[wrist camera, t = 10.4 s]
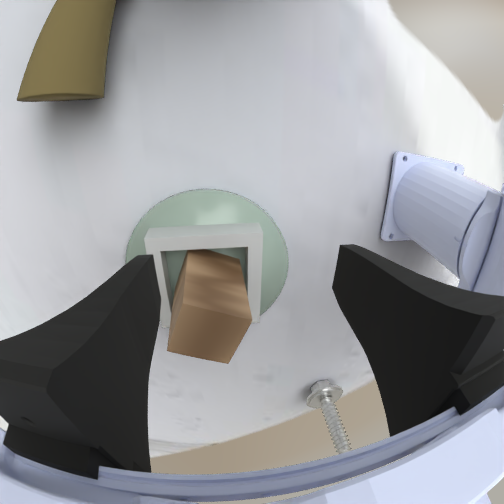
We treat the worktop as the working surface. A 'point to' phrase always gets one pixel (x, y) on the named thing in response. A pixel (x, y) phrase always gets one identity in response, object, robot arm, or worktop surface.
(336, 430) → the screw
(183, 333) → the brown tall block
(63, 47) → the olive cylinder
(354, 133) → the worktop surface
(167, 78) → the worktop surface
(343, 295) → the robot arm
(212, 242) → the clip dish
